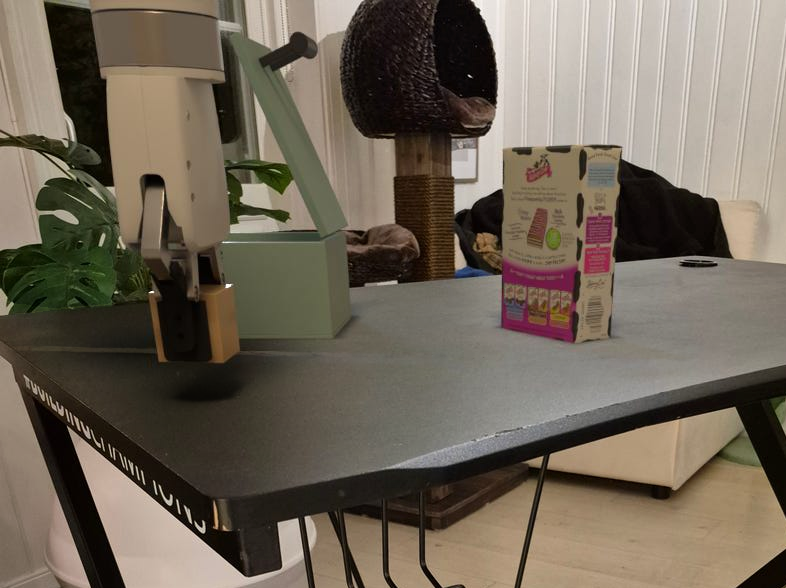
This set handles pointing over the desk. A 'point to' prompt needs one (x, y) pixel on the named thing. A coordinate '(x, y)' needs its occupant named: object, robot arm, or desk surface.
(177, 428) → the desk surface
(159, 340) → the block
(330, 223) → the lid
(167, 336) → the robot arm
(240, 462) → the desk surface
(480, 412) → the desk surface
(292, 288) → the bin
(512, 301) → the candy bar box
